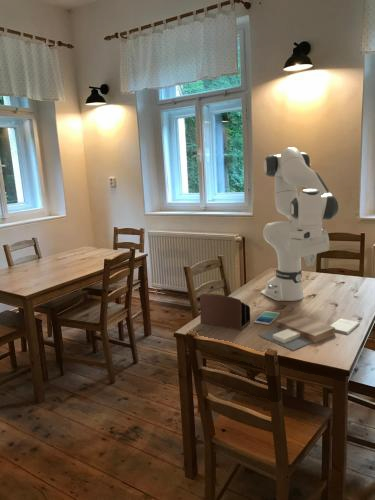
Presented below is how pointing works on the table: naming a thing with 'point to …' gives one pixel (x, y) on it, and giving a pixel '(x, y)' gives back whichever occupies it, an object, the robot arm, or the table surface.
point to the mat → (290, 345)
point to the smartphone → (267, 317)
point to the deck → (306, 327)
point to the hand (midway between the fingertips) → (309, 265)
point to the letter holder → (224, 311)
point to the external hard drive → (344, 326)
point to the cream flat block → (286, 335)
